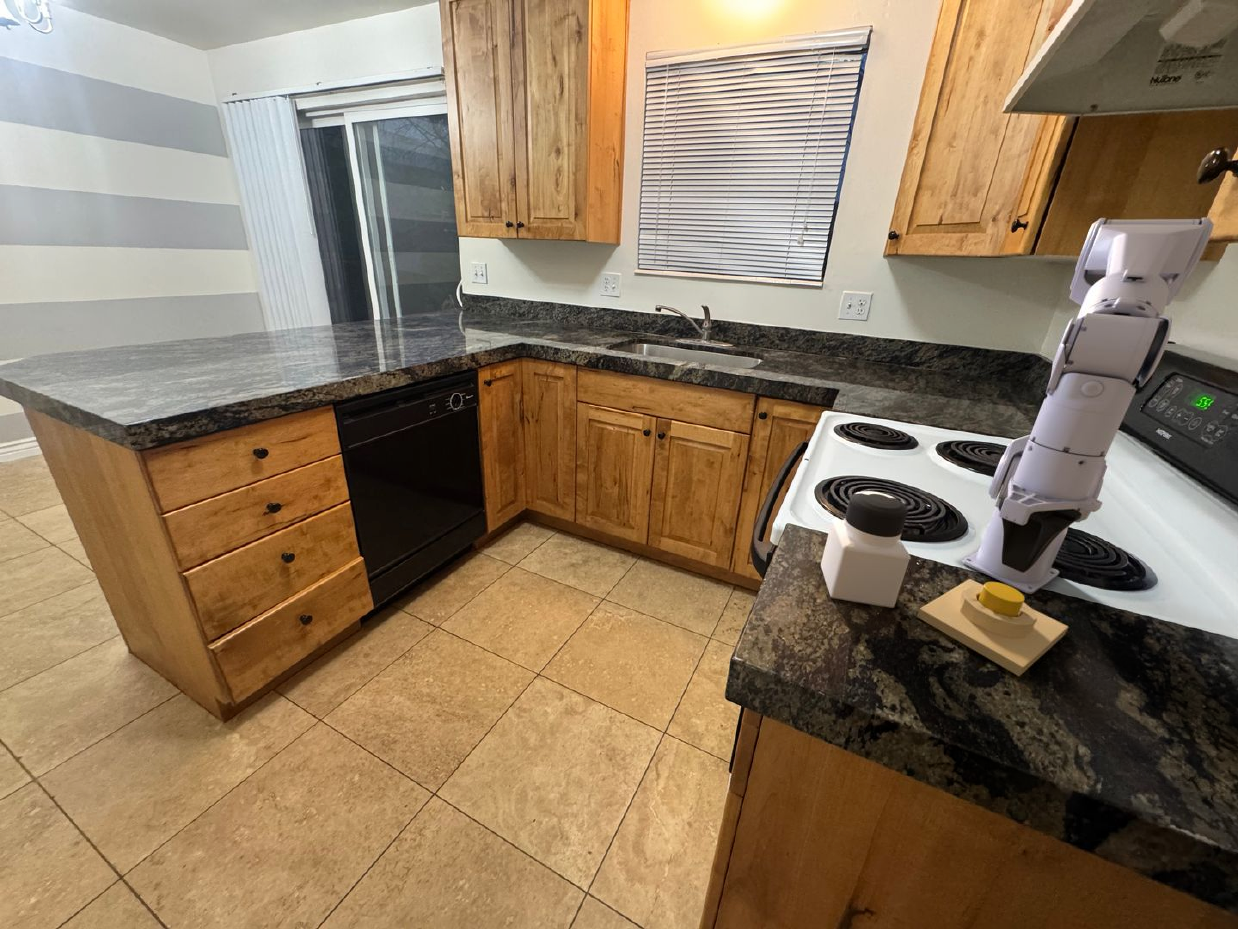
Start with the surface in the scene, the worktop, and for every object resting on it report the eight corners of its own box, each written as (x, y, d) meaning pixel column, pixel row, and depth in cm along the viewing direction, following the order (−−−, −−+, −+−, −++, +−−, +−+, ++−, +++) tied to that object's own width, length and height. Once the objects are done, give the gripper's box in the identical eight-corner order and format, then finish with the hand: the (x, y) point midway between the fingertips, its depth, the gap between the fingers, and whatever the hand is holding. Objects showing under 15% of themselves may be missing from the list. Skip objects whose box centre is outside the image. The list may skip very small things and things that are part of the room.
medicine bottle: (894, 609, 57) (925, 517, 52) (829, 599, 58) (854, 508, 54) (877, 574, 63) (903, 490, 59) (819, 565, 65) (840, 482, 60)
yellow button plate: (966, 586, 62) (974, 566, 61) (1064, 635, 55) (1075, 613, 53) (916, 617, 56) (924, 595, 55) (1019, 677, 48) (1030, 653, 47)
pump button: (986, 593, 57) (993, 578, 56) (1023, 611, 54) (1030, 595, 53) (972, 602, 55) (978, 587, 54) (1009, 622, 52) (1016, 606, 51)
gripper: (1093, 474, 40) (1031, 609, 45) (1145, 448, 48) (1086, 567, 53) (996, 446, 46) (950, 570, 51) (1056, 427, 53) (1011, 536, 58)
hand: (1014, 566), depth 52 cm, fingers closed
